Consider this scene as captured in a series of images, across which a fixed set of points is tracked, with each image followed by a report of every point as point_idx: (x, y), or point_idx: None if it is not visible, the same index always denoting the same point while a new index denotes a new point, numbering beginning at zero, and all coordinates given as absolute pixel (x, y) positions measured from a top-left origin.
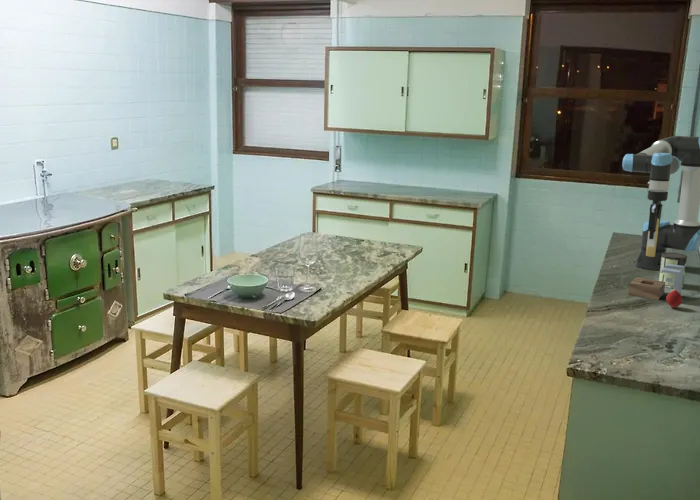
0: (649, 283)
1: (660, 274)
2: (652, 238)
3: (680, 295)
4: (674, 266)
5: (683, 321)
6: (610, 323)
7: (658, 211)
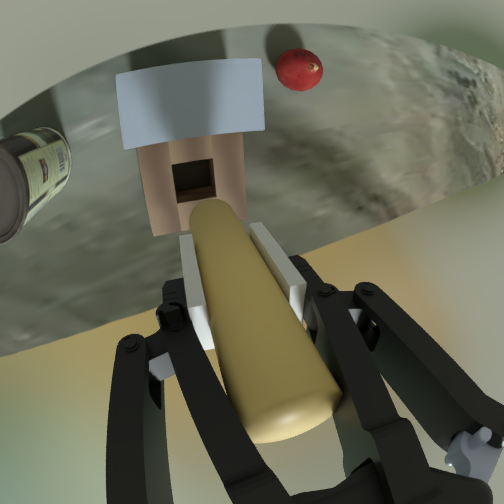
0: (173, 179)
1: (49, 199)
2: (303, 259)
3: (308, 52)
4: (156, 105)
5: (371, 47)
6: (433, 170)
7: (422, 463)
